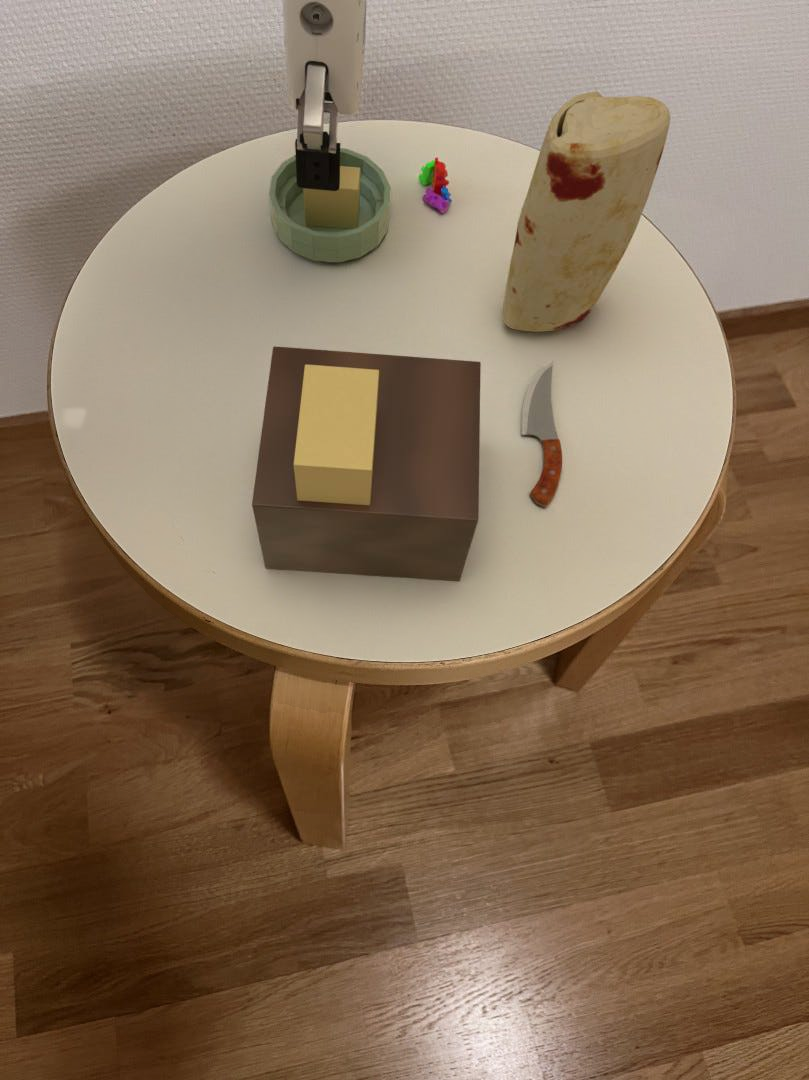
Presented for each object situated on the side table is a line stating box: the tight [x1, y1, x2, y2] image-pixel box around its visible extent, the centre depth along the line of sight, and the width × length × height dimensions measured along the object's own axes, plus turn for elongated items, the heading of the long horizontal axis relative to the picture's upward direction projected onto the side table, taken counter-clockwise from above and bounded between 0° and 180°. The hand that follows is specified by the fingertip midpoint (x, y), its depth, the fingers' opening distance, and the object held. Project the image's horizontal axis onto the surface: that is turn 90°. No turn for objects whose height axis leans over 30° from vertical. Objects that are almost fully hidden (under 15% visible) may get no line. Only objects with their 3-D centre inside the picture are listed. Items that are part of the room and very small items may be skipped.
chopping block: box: [251, 345, 482, 582], centre depth 62 cm, size 14×12×10 cm
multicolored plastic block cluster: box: [418, 157, 453, 214], centre depth 79 cm, size 5×3×4 cm, turn 5°
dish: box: [268, 147, 391, 263], centre depth 77 cm, size 10×10×4 cm
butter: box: [294, 365, 379, 505], centre depth 55 cm, size 4×7×4 cm, turn 177°
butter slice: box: [303, 166, 360, 229], centre depth 76 cm, size 4×2×4 cm, turn 87°
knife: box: [521, 360, 563, 508], centre depth 70 cm, size 13×1×3 cm
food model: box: [501, 90, 671, 332], centre depth 66 cm, size 10×7×20 cm
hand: (323, 141), depth 70 cm, fingers open, 9 cm apart
